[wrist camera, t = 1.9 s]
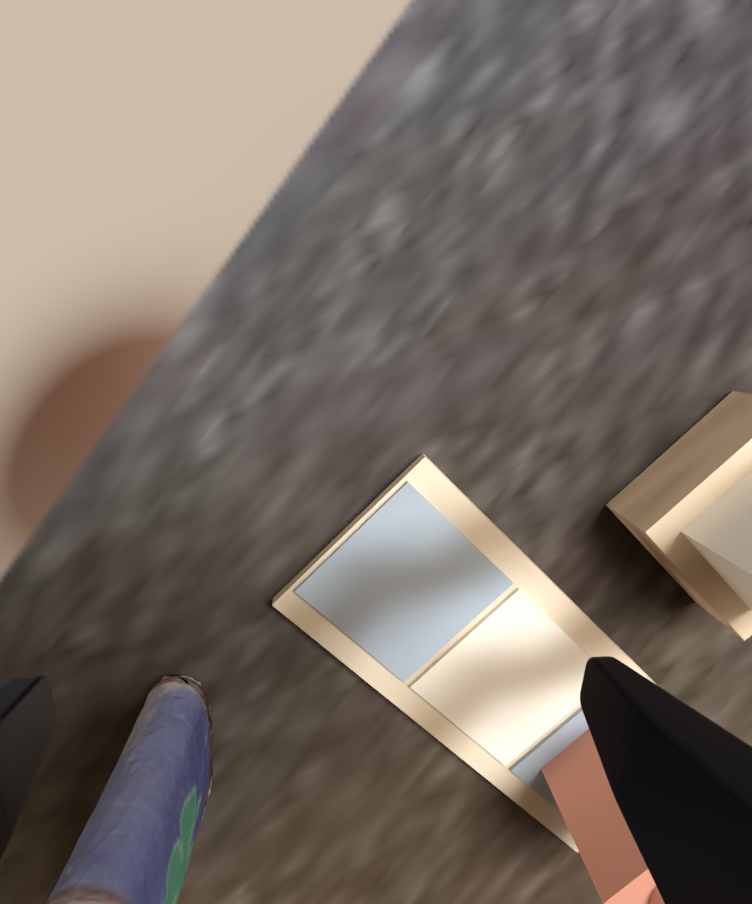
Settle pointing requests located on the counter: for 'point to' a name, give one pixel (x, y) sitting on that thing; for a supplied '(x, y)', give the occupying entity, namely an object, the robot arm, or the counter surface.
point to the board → (455, 632)
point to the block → (693, 503)
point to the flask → (147, 806)
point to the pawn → (599, 825)
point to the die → (728, 537)
